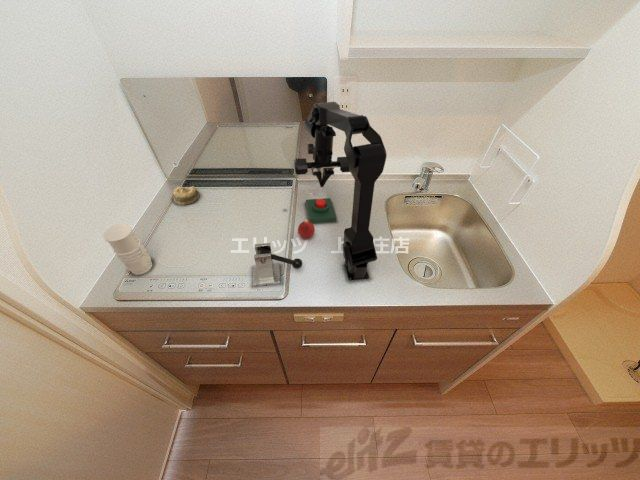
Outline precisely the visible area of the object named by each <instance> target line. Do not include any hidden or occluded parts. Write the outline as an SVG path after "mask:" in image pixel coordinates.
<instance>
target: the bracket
mask: <svg viewBox="0 0 640 480" xmlns="http://www.w3.org/2000/svg"><path fill="white" fill-rule="evenodd" d="M271 245H272V243H271V242H265V243H263V242H262V243H255V244H254V251H255V254H254V255H253V259H254V263H255V265H253V266H252V286H253V287H255V286H264V285H274V284H281V270H280V269H281V268H280V263H274V260H273V259H271V254H273V253H272V252H273V251H272V246H271ZM260 247H261V248H264V249H267V250H269V251H270V253H269V254H258V255H257V252H258V250H259V249H260Z"/></svg>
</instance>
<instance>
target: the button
mask: <svg viewBox="0 0 640 480" xmlns="http://www.w3.org/2000/svg"><path fill="white" fill-rule="evenodd" d="M317 199H318V200H316V207H318V208H324V207H325V203H326V202H325V200H324V198H317Z"/></svg>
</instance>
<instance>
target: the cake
mask: <svg viewBox="0 0 640 480" xmlns="http://www.w3.org/2000/svg"><path fill="white" fill-rule="evenodd" d="M172 196H173V202H174V203H175V204H177V205H179V206H186V205H191V204H193V203H195V202H196V201H197V200H198V199H199V198H200V196H201V195H200V192H199V191H198V189H197V188H196V187H195V186H194V185H192V186H190V187H189V188H188V187H187V188H186V187H184V186H176V188H174V189H173V190H172Z"/></svg>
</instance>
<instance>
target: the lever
mask: <svg viewBox="0 0 640 480" xmlns="http://www.w3.org/2000/svg"><path fill="white" fill-rule="evenodd" d="M269 253H270V251H269V250H267V249H264V248H261V247H260V249H259V250H258V252H257V255H258V254H269ZM271 259H273V261H277V262H281V263H285V264H288V265H290V266H292V267H293V269H295V270H299V269H301V268H302V267H303V263H304V262H303V260H302V259H301V258H298V257H296V258H294V259H291V258H287V257H284V256H280V255H277V254H273V253H272V254H271Z"/></svg>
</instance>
